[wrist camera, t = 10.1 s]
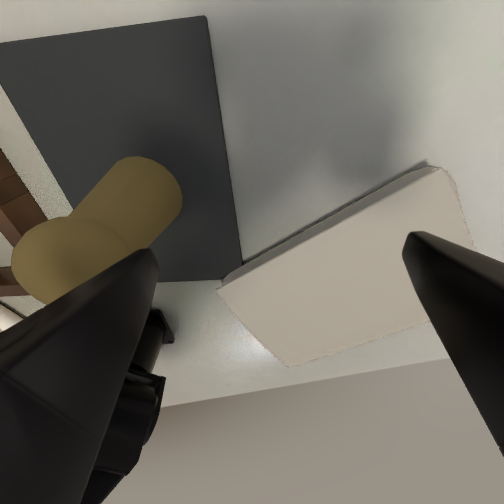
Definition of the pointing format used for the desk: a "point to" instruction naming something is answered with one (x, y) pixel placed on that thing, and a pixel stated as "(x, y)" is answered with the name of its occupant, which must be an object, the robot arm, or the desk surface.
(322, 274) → the book
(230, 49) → the desk surface
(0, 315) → the white rod
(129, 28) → the mat
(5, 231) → the brown wooden frame
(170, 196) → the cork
